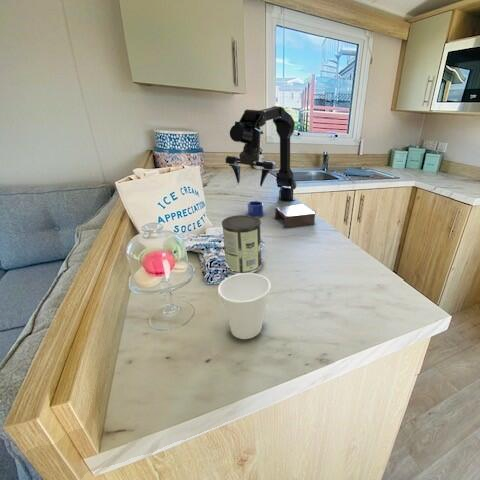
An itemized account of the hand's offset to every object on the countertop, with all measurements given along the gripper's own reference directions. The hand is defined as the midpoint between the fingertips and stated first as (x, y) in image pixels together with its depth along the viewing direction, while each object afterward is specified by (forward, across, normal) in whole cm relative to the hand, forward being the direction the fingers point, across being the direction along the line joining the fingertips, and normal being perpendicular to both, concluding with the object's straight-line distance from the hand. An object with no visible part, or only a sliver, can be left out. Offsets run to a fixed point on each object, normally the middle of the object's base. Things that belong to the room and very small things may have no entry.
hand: (249, 184), depth 112 cm
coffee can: (+20, +10, -38) cm, 44 cm away
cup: (+23, +19, -63) cm, 69 cm away
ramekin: (+13, +2, +6) cm, 15 cm away
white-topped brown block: (+13, +20, +2) cm, 24 cm away
